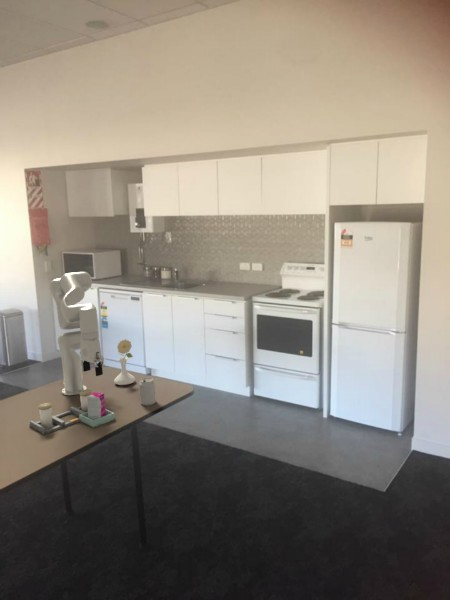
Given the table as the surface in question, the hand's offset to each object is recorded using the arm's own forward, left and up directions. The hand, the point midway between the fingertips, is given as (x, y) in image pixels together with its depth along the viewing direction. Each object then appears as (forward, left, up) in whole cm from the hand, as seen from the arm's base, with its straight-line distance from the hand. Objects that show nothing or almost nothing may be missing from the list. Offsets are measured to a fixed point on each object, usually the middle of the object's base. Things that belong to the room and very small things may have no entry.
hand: (93, 372), depth 222 cm
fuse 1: (-11, -18, -22) cm, 31 cm away
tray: (0, 0, -22) cm, 22 cm away
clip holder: (-11, -8, -22) cm, 26 cm away
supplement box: (0, 0, -22) cm, 22 cm away
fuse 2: (-11, +2, -22) cm, 25 cm away
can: (+3, +27, -22) cm, 35 cm away
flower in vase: (-29, +37, -22) cm, 52 cm away
